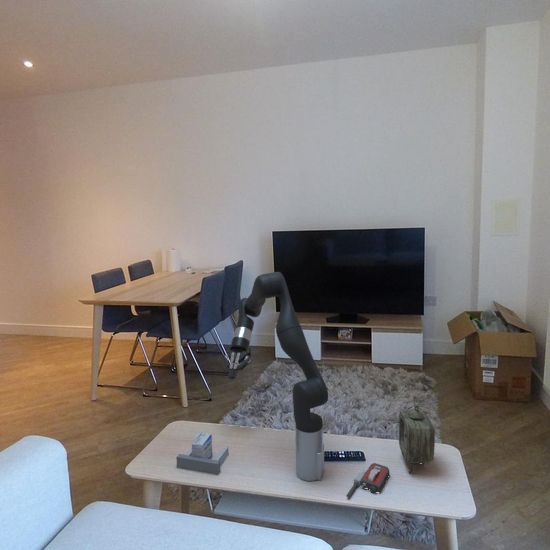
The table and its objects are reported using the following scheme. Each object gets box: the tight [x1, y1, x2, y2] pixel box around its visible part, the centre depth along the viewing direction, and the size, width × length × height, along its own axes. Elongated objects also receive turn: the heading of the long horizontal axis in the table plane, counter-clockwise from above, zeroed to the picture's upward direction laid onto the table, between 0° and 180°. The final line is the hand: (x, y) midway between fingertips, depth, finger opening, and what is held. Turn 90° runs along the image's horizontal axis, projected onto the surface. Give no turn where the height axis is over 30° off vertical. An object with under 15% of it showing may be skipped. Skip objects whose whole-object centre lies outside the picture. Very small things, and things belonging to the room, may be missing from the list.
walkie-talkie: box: [346, 462, 390, 498], centre depth 134 cm, size 9×4×20 cm
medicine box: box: [191, 432, 213, 459], centre depth 149 cm, size 8×4×9 cm, turn 165°
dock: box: [176, 445, 230, 476], centre depth 149 cm, size 16×12×4 cm
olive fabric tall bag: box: [398, 395, 436, 474], centre depth 144 cm, size 14×9×25 cm, turn 175°
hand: (231, 378), depth 163 cm, fingers closed
